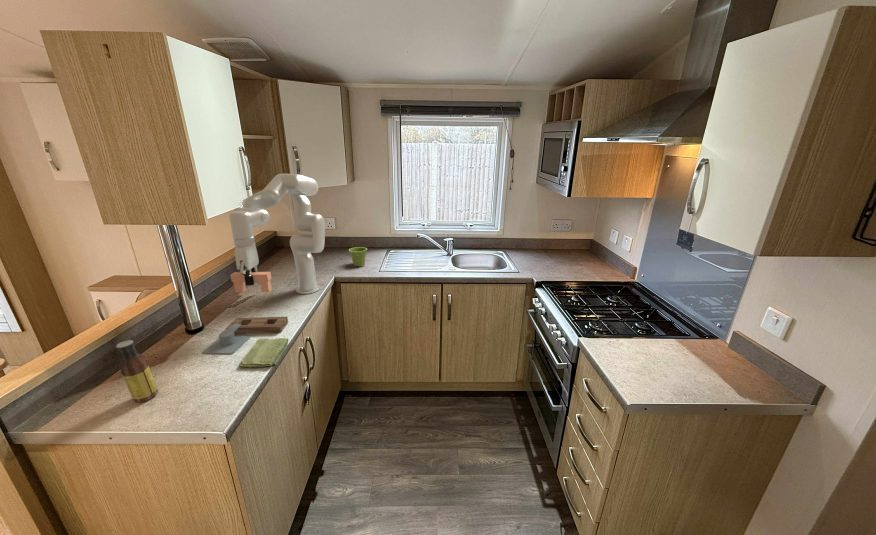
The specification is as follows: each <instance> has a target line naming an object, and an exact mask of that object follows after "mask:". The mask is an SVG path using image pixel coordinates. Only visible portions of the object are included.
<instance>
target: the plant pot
mask: <svg viewBox="0 0 876 535" xmlns="http://www.w3.org/2000/svg"><path fill="white" fill-rule="evenodd" d="M367 250H368V248H367V247H363V246H359V247H358V246H357V247H351V248H349V249H348V251H349V254H350V256H351V260H352V265H353V267H355V266H356V267H357V266H362V267H364V266H365V264H366V254H367Z"/></svg>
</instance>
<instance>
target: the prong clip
mask: <svg viewBox="0 0 876 535" xmlns="http://www.w3.org/2000/svg"><path fill="white" fill-rule="evenodd" d="M247 272H248V271H247ZM248 273H249V272H248ZM251 275H252V276H253V280H254V281H258V282H259V284H260V290H261V292H262V293H270V292H271V291H272V289H273V286H272V283H271V282H272V281H271V280H272V273H271V271H258V272H251ZM230 280H231V282H232V283H233V287H234V293H244V292H245V291H246V290H247V288H246V283H245V278H244V276H243V274H241V273H240V271H239V272H238V271H237V272H236V271H235V272H233V273H231V274H230Z"/></svg>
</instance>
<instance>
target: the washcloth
mask: <svg viewBox="0 0 876 535" xmlns="http://www.w3.org/2000/svg"><path fill="white" fill-rule="evenodd" d="M289 340H290V339H289V338H288V337H284V338H283V337H279V338H277V337H276V338H266V337H265V338H258V339H257V340H256V342H255V343H254V345H253V346H252V347H251V348H250V349H249V351H248V352H247V353H246V354H245V355H244V357H243V358H242V360H241V361H240V362H239V364H238V368H241V369H243V368H262V367H272V366H276V365H278V362H279V360H280V359H281V357H282V355H283V354H284V352H285V350H286V348H287V346H288V343H289Z"/></svg>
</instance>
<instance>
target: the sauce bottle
mask: <svg viewBox="0 0 876 535" xmlns="http://www.w3.org/2000/svg"><path fill="white" fill-rule="evenodd" d="M135 345H136V343H135V341H134V340H132V339H129V340H125V341H121V342H118V343H117V344H116V345H115V349H116V351H117V353H118V354H119V357H120V360H121V361H120V373H121V376H122V378H123V380H124V383H125V384H126V387H127V389H128V391H129V394H130V397H131V398H132V399H133V400H134V402H136V403H143V402H144V403H145V402H146V401H149V400H151V399H153V398H154V397H156V395H158V393H159V390H158V386H157V384H156V381H155V378H154V375H153V373H152V371H151V369H150V366H149V364H148V363H147V360H146V359H145V357H144V356H143V355H142V354H140V353H139V352H138V351H137V349H136V346H135Z"/></svg>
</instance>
